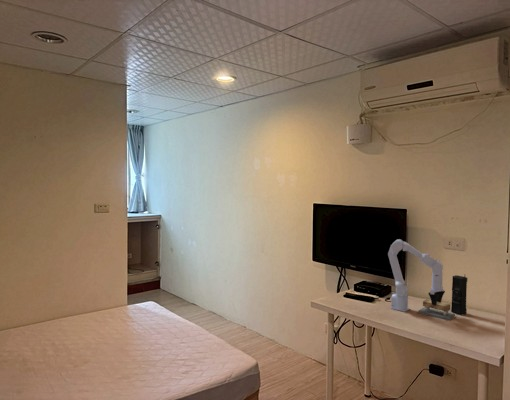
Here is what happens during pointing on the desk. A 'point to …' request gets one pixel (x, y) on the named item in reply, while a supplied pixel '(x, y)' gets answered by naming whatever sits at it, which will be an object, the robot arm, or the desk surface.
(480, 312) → the desk surface
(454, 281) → the portable radio
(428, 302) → the shelf board
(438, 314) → the peg stand
